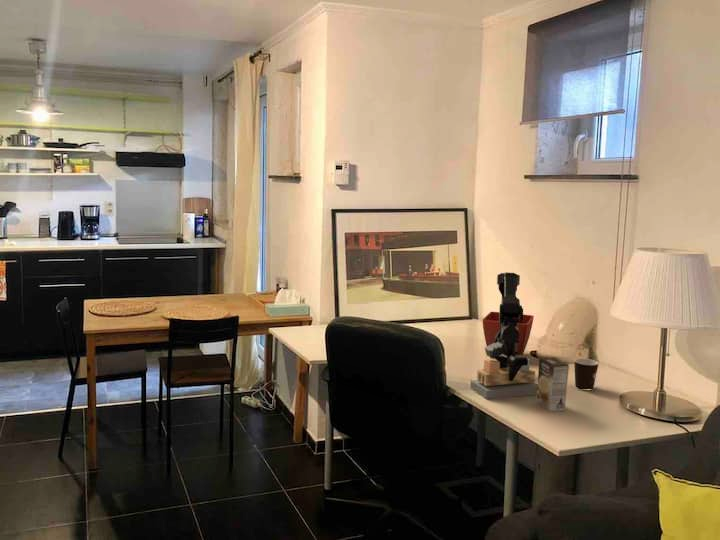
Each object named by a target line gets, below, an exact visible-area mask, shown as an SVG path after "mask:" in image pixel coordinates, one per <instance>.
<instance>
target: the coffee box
mask: <svg viewBox="0 0 720 540" xmlns="http://www.w3.org/2000/svg"><path fill="white" fill-rule="evenodd" d="M569 367H570V365H569V364H568V363H567V362H565V361H562V360H561V359H559V358H557V357H556V356H553V357H540V358H539V361H538V374H537V384H538V385H537V395H536V397H535V399H536V401H535V402H536V403H537V404H538V405H539V406H540V407H542V408H544V409H545V410H546V411H548V412H557V411H565V410H566V404H567V403H566V401H567V391H568V389H567V388H568V379H569V378H568V377H569Z"/></svg>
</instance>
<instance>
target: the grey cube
mask: <svg viewBox="0 0 720 540" xmlns="http://www.w3.org/2000/svg"><path fill="white" fill-rule="evenodd" d="M527 359H528V365H525V366H522V367H521V368H520V370H519V371H529V368H530V363H531V362H530V361H531V360H530V359H529V358H527Z"/></svg>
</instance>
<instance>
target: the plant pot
mask: <svg viewBox="0 0 720 540" xmlns="http://www.w3.org/2000/svg"><path fill="white" fill-rule="evenodd" d="M481 320H482V321H481V322H482V328H483V334H484V341H485V344H486V345H485V346H489V345H491V344H493V340H495V335H496V333H497V332H498V331H499V330H500V322H499V311H490V312H489V313H488V314H487V315H485V317H483V318H482V319H481ZM519 320H520V317H519ZM533 323H534V315H531V314H523V321H522V323H517V324H518V331H519V338H518V340H519V343H516V350H517V351H518V354H515V355H523V356H524V354H525V351H526V348H527V345H528V343H529V340H530V339H529V338H530V335H531V332H532V327H533Z"/></svg>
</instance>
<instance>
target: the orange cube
mask: <svg viewBox="0 0 720 540" xmlns="http://www.w3.org/2000/svg"><path fill="white" fill-rule="evenodd" d="M499 368H500V362H499V361H497V360H495V359H493V358H489V359H484V361H483V369H484V371H486V372H487V373H489V374H491V373H499Z"/></svg>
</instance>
